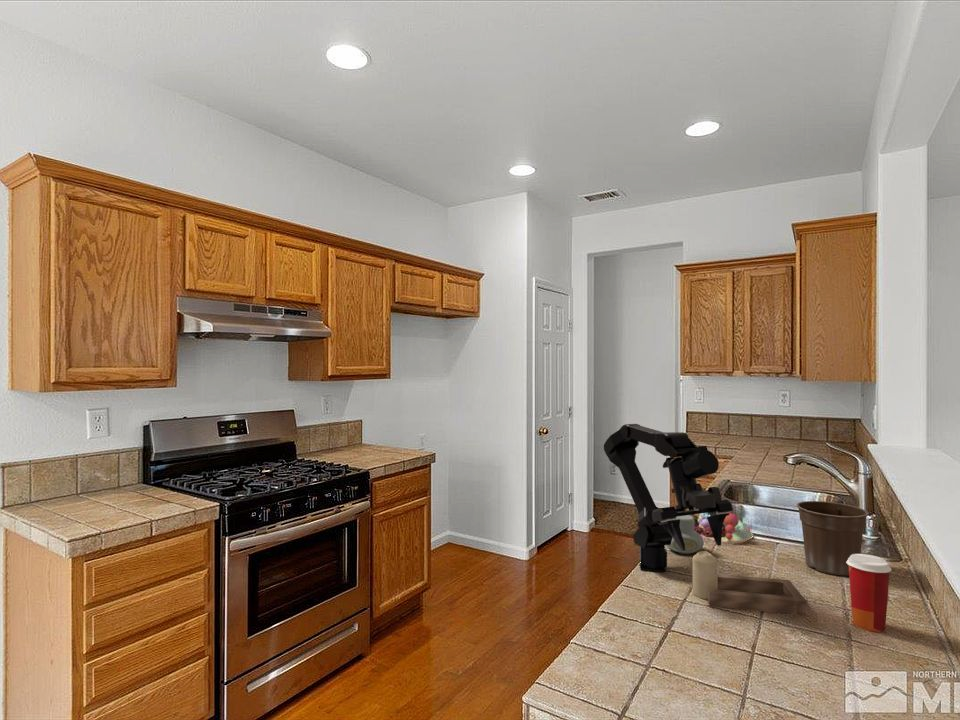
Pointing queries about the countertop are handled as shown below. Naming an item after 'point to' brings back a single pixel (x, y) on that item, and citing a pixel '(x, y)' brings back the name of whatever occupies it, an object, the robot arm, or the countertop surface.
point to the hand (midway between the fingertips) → (701, 548)
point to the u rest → (757, 595)
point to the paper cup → (869, 591)
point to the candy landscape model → (731, 529)
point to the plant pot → (831, 534)
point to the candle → (704, 574)
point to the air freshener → (688, 536)
